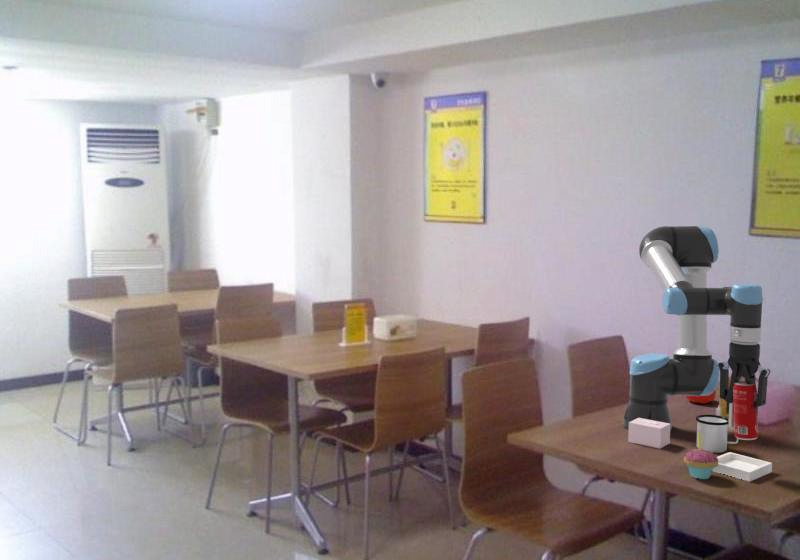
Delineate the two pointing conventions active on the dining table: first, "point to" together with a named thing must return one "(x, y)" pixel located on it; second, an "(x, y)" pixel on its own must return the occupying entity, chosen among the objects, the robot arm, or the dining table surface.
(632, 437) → the tissue box
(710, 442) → the mug
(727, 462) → the tray
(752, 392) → the beverage can
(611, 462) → the dining table surface
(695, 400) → the tomato
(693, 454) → the cupcake
